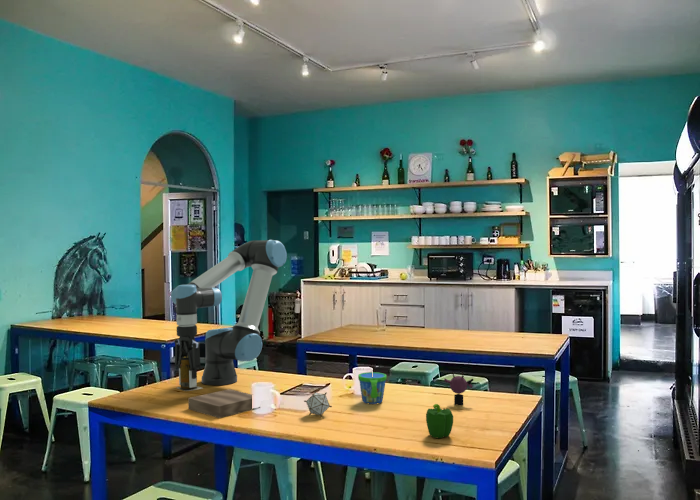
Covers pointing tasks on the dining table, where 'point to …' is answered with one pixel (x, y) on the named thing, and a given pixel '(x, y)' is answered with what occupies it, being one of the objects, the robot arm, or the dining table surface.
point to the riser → (221, 403)
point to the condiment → (185, 375)
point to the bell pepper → (439, 421)
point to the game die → (318, 403)
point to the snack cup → (372, 387)
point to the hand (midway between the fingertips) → (187, 385)
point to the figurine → (458, 387)
